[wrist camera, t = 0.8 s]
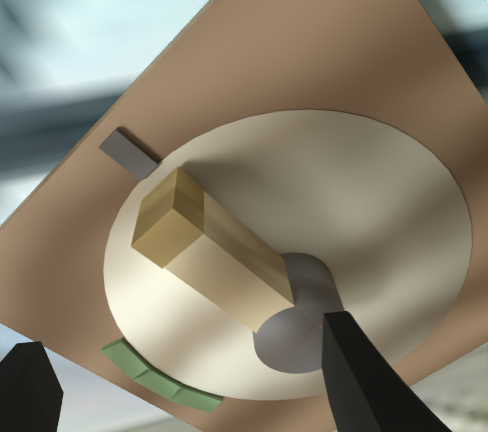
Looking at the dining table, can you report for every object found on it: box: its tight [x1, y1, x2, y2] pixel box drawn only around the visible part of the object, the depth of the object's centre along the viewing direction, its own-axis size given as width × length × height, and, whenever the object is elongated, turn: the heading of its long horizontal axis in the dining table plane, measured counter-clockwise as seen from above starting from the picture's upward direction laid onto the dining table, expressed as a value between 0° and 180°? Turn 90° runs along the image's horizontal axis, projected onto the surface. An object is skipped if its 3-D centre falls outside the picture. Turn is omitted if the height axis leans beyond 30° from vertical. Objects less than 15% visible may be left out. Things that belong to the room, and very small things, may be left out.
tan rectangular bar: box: [131, 166, 345, 374], centre depth 19 cm, size 10×4×3 cm, turn 43°
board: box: [0, 0, 488, 432], centre depth 22 cm, size 22×22×2 cm
